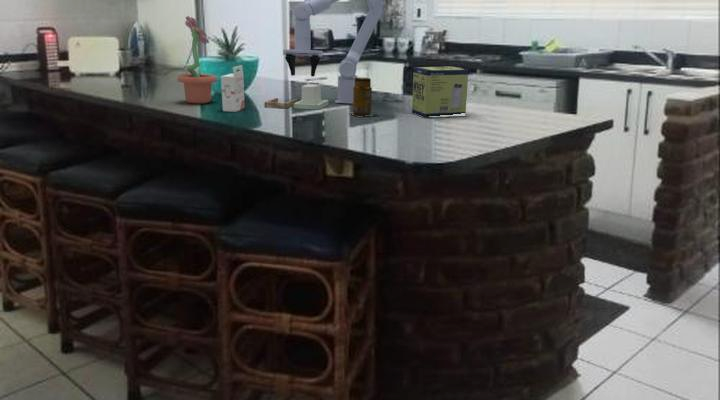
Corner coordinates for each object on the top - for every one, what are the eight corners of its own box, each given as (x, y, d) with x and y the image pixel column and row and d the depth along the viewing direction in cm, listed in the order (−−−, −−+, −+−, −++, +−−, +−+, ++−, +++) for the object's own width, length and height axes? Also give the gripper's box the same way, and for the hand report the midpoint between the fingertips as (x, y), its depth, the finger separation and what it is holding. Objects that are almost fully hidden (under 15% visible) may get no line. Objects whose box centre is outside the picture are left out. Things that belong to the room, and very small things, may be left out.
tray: (328, 104, 230) (328, 100, 230) (318, 109, 219) (318, 105, 218) (305, 103, 232) (304, 98, 232) (293, 108, 221) (293, 103, 220)
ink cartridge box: (231, 107, 220) (229, 64, 216) (245, 108, 219) (243, 64, 215) (221, 111, 212) (219, 66, 208) (235, 112, 211) (233, 67, 207)
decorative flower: (225, 104, 227) (221, 16, 218) (188, 106, 220) (182, 16, 211) (209, 98, 239) (205, 15, 230) (173, 101, 231) (167, 15, 222)
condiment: (366, 112, 216) (367, 76, 212) (378, 116, 208) (379, 79, 205) (347, 113, 213) (347, 77, 209) (358, 117, 205) (358, 80, 202)
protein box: (410, 113, 216) (412, 66, 211) (451, 111, 221) (454, 66, 216) (424, 118, 206) (426, 69, 202) (466, 116, 211) (469, 69, 207)
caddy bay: (297, 104, 230) (297, 99, 229) (286, 108, 220) (286, 103, 219) (276, 102, 232) (275, 97, 231) (264, 107, 222) (264, 102, 221)
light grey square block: (320, 103, 229) (320, 82, 226) (313, 107, 221) (313, 85, 219) (308, 103, 230) (308, 82, 227) (301, 106, 222) (301, 84, 220)
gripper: (279, 37, 227) (280, 76, 231) (318, 38, 224) (318, 77, 228) (286, 36, 234) (287, 74, 238) (324, 37, 231) (324, 75, 235)
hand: (303, 75), depth 234 cm, fingers open, 7 cm apart
